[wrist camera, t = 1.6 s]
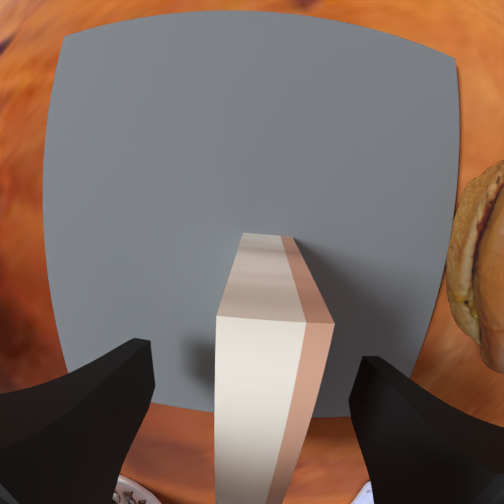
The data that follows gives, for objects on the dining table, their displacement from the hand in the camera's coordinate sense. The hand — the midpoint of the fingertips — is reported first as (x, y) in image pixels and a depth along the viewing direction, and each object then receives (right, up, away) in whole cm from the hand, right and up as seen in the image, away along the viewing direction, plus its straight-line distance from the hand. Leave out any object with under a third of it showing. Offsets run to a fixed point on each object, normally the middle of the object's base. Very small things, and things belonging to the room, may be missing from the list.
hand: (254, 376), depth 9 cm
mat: (-1, +5, +1) cm, 5 cm away
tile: (0, 0, +2) cm, 2 cm away
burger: (+12, +4, +1) cm, 13 cm away
